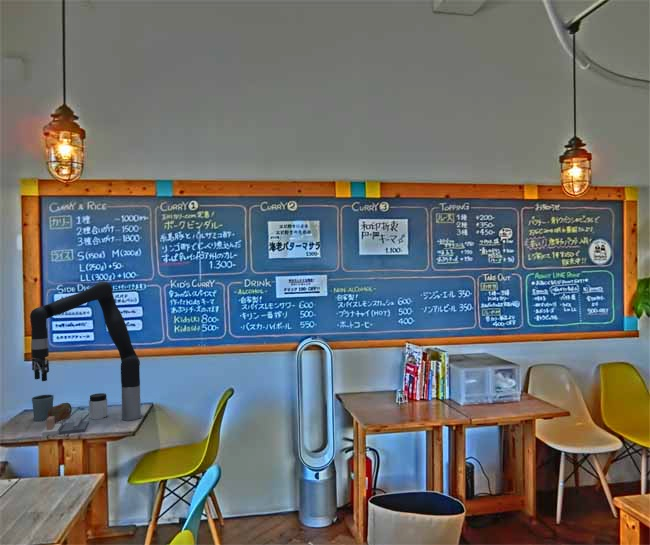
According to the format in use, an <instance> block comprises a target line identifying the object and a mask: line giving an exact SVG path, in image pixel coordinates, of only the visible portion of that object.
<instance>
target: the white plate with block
mask: <svg viewBox="0 0 650 545" xmlns="http://www.w3.org/2000/svg"><path fill="white" fill-rule="evenodd" d="M45 425H46V426H45V428H44V429H43V431H42V432H41V435H42V436H49V435H51V436H52V435H59V431H60V430H61V428H62V427H63V425H64V423H55V416H49V417H48V418H47V420H46V424H45Z"/></svg>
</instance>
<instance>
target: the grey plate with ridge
mask: <svg viewBox="0 0 650 545" xmlns="http://www.w3.org/2000/svg"><path fill="white" fill-rule="evenodd" d="M89 422H90V421H89V420H83V417H82V416H81V417H77V418H76V420H75V422H73V421H72V422H65V423H63V427H62V428H61V430H60V431H59V434H58V435H65V434H66V435H67V434H68V435H69V434H75V433H77V434H78V433H85V432H86V429H87V427H88V426H89Z"/></svg>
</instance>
